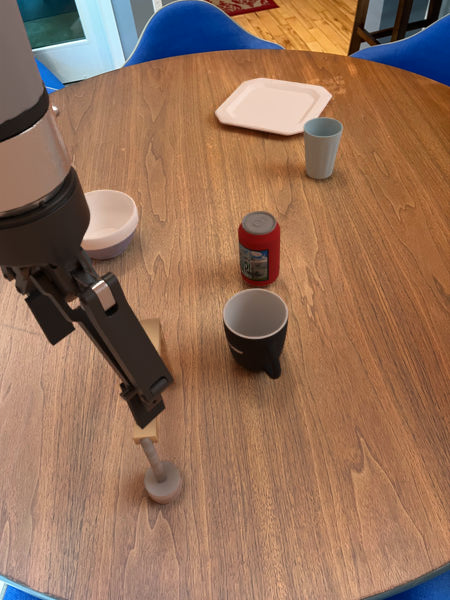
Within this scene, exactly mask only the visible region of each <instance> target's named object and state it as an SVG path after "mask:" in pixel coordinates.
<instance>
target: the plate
mask: <svg viewBox="0 0 450 600" xmlns="http://www.w3.org/2000/svg"><path fill="white" fill-rule="evenodd" d="M332 98H333V95H332V93H330V92H329V91H328V90H327V89H326V88H325V87H324V86H322V85H317V84H310V83H302V82H296V81H295V82H294V81H289V80H282V79H274V78H269V77H258V78H252V79H247V80H245V81H243V82H241V83H240V85H239V86H237V88H236V89H234V91H232V93H231V94H230V95H229V96H228V97H227V98H226V99H225V100H224V101H223V102H222V103H221V104H220V106H218V107H217V109H216V110H214V115H215V117H216V119H217V120H218V122H220V123H221V124H223V125H227V126H234V127H238V128H242V129H243V128H244V129H249V130H255V131H259V132H264V133H269V134H276V135H281V136H292V135H296V134H301V133H304V124H305V123H306V122H307V121H309V120H311V119H314V118H319V117H320V116H321V114H322V112H323V111H324V109H325V108H326V107H327V105H328V104H329V102H330V101H331V100H332Z"/></svg>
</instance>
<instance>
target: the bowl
mask: <svg viewBox="0 0 450 600" xmlns="http://www.w3.org/2000/svg"><path fill="white" fill-rule="evenodd" d="M84 195H85V198H86V201H87V204H88V206H89V210H90V224H89V227H88V229H87V231H86V233H85V235H84V238H83V240H82V243H81V247H82V248H83V249H84V250H85V252H86V253H87V254H88V256H89V257H90V258H91V259H94V260H99V261H100V260H101V261H102V260H109V259H113V258H115V257H118V256H119V255H122V253H123V252H125V251H126V249H128V247H129V245H130V243H131V242H132V239H133V238H134V236H135V233H136V230H137V227H138V224H139V211H138V210H139V209H138V208H137V205H136V203H135V200H134V199H133V198H132V197H131V196H130V195H129V194H128V193H125V192H124V191H123V192H122V191H119V190H117V189H116V190H115V189H97V190H91V191H87V192H84Z"/></svg>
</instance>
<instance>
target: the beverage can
mask: <svg viewBox="0 0 450 600" xmlns="http://www.w3.org/2000/svg"><path fill="white" fill-rule="evenodd" d="M241 220H242V221H241V223H240V224H239V226H238V229H237V239H238V241H237V243H238V256H239V267H240V268H239V270H240V276H241V279H242V280H243V282H245V283H246V284H248V285H250V286H252V287H267V286H269V285H271V284H274V283H275V282H276V281H277V280H278V278H279V276H280V271H281V270H280V268H281V267H280V266H281V225H280V224H279V223H278V221H277V219H276V217H275V216H274V215H273V214H272V213H270V212H268V211H263V210H257V211H256V210H255V211H251V212H249V213H247V214H245V216H243V218H242V219H241Z"/></svg>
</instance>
